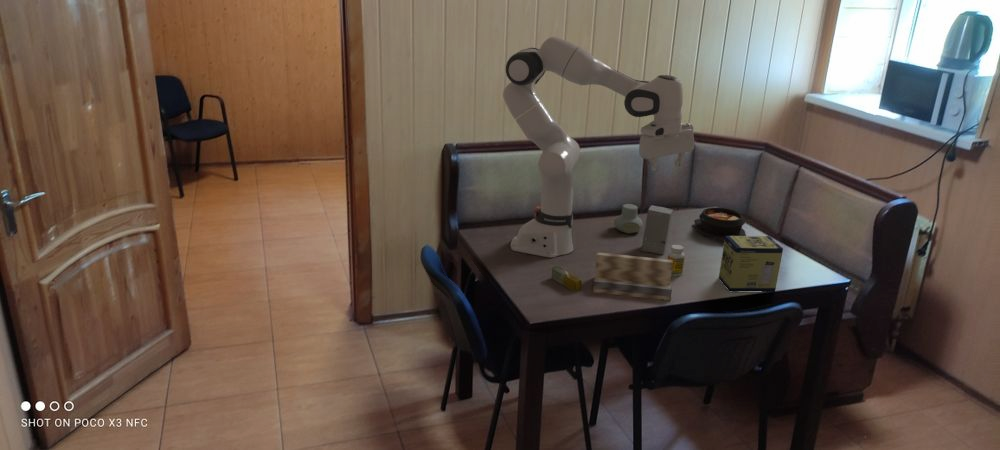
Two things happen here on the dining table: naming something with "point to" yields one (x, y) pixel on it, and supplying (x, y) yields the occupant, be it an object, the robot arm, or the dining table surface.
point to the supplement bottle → (677, 259)
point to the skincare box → (657, 229)
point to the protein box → (750, 263)
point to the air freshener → (628, 219)
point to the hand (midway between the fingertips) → (666, 168)
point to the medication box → (566, 279)
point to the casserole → (720, 223)
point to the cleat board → (633, 276)
